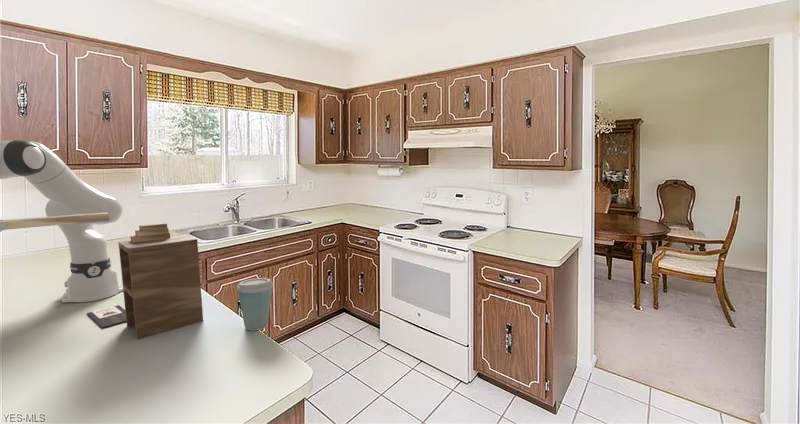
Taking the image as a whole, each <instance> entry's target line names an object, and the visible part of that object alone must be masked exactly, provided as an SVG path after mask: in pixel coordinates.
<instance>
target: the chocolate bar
mask: <svg viewBox="0 0 800 424" xmlns="http://www.w3.org/2000/svg"><path fill="white" fill-rule="evenodd" d="M86 315H87V316H88V317H89V318H90V319H91V320H92V321H94V323H96V324H97V325H98V326H99V328H101V329H103V330H104V329H107V328H110V327H114V326H118V325H122V324H126V323H127V322H126V312H125V308H123V307H122V305H121V306H120V304H119V305H114V306H110V307H107V308H102V309H97V310H94V311H89V312H86Z"/></svg>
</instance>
